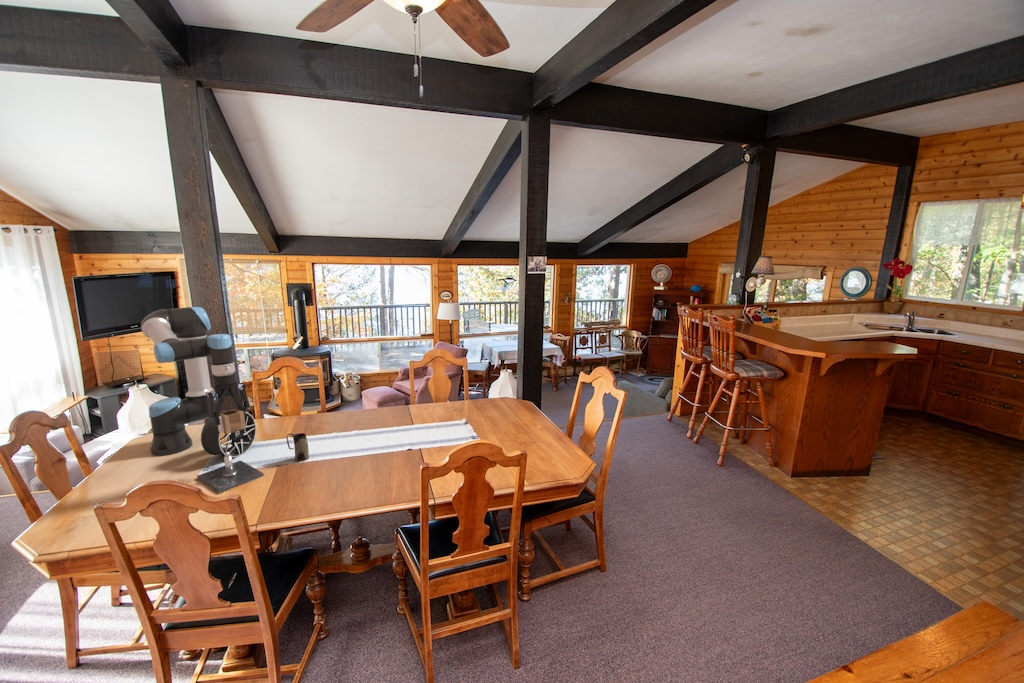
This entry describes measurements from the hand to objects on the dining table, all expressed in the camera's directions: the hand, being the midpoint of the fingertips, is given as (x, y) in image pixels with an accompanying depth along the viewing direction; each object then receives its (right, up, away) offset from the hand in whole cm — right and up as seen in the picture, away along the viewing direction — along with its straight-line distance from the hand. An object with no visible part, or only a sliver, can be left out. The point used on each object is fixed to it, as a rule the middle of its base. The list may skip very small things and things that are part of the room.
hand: (232, 428), depth 170 cm
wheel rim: (-13, -16, +20) cm, 29 cm away
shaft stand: (-1, -20, 0) cm, 20 cm away
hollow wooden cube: (0, 0, 0) cm, 0 cm away
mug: (+19, -17, +15) cm, 30 cm away
